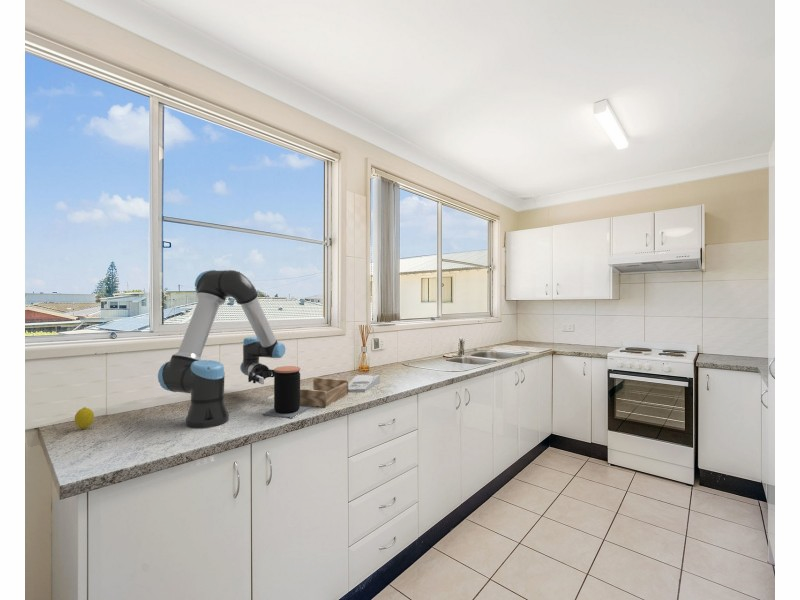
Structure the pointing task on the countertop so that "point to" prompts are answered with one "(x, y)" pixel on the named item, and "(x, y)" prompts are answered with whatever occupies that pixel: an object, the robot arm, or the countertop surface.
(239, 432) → the countertop surface
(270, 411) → the rubber mat
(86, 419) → the lemon
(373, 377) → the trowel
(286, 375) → the coffee jar
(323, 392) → the wooden tray
